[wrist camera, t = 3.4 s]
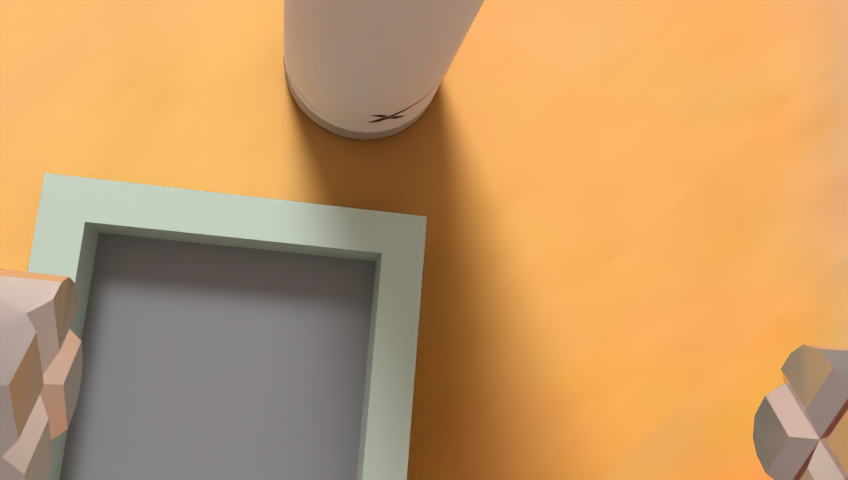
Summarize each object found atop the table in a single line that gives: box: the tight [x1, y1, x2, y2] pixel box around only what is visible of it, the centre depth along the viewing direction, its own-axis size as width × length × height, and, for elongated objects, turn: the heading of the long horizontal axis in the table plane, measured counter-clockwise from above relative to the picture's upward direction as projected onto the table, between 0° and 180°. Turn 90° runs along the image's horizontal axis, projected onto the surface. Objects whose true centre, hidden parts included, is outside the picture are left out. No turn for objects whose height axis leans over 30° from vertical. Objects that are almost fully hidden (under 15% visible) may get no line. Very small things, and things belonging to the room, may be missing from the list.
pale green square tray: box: [28, 173, 427, 480], centre depth 27 cm, size 13×13×3 cm
